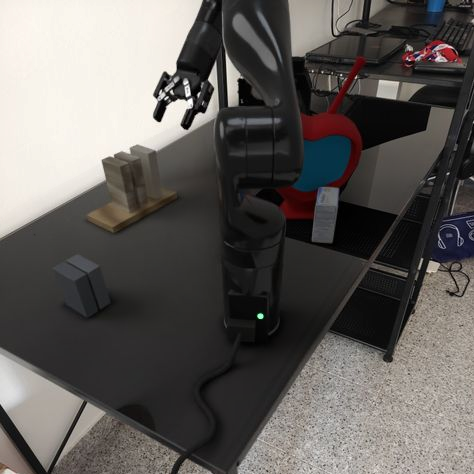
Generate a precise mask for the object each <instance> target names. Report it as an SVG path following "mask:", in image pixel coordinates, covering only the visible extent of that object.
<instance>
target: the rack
mask: <svg viewBox="0 0 474 474" xmlns="http://www.w3.org/2000/svg"><path fill="white" fill-rule="evenodd" d="M100 160H101V161H100V162H101V164H102V165H101V166H102V169H103V174H104V177H105V181H106V186H107V190H108V193H109V198H110V202H108V203H107V204H105V205H103V206H101V207H99V208H97V209H94V210H93V211H91V212H89V213H87V214H86V218H87V221H88V222H89V223H92V224H94V225H96V226H98V227H100V228H102V229H104V230H106V231H109V232H111V233H112V234H116V233H117V232H119V231H121V230H122V229H125V228H126V227H128V226H130V225H131V224H133V223H135V222H137V221H139V220H140V219H143V218H145V217H146V216H148V215H149V214H151V213H154V212H155V211H157V210H158V209H160V208H163V207H164V206H165V205H167V204H169V203H171V202H173V201H176V199H178V193H177V191H174V190H172V189H169V188H166V187H163V186H161V189H162V196H161V197H159V198H157V199H153V198H151V197H148V196H147V193H146V187H145V181H144V176H143V170H142V164H141V158H140V157H137V156H134V155H131V153H128V152H125V151H123V150H120V151H119V152H117V153H114V154H113V156H111V155H109V156H107V157H104V158H102V159H100Z"/></svg>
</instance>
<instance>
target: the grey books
mask: <svg viewBox="0 0 474 474" xmlns="http://www.w3.org/2000/svg"><path fill="white" fill-rule="evenodd" d="M51 269H52V272H53V274H54V276H55V279H56V282H57V284H58V287H59V289H60V292H61V294H62V297H63V299H64V302H65V305H66V306H68V307H69V308H70V309H72V310H74V311H75V312H77V313H79V314H81V315H82V316H84V317H85V318H86V319H88V318H90V317H92V316H93V315H95V314H97V313H98V312H99V311H100V310H103V308H105V307H107V306H109V305H110V304H111V303H112V302H111V300H110V296H109V293H108V288H107V285H106V282H105V280H104V279H105V278H104V276H103V272H102V269H101V266H100V265H99V264H97V263H95V262H94V261H91V260H90V259H88V258H86V257H84V256H83V255H80V254H79V253H77V254H75V255H73V256H71V257H70V258H68V259H66V260H65V261H62V262H59V264H57V265H55V266H53V267H52V268H51Z"/></svg>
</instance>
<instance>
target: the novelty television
mask: <svg viewBox="0 0 474 474" xmlns="http://www.w3.org/2000/svg"><path fill="white" fill-rule="evenodd" d="M366 63H367V59H366V58H364V57H363V56H361V55H357V57H356V59H355V61H354V64H353V66H352V68H351V70H350V72H349V74H348V76H347V77H346V79H345V81H344V83H343V84H342V86H341V88H340V90H339V92H338V93H337V95H336V97H335V99H334V100H333V102H332V103H331V105H330V106H329V107H328V110H327V111H325V112H321V113H318V115H315V116H307V115H305V114H303V113H300V114H301V120H302V127H303V135H304V165H303V170H302V173H301V176H300V178H299V180H298V181H297V183H296V184H294V185H293V186H291V187H286V188H279V189H275V191H276V192H277V193H278V194H279V195H280V196H281V197H282V198H283V201H282V203H280V205H279V208H280V209H281V210H282V211H283V212H284V214H285V218H286V220H314V213H315V206H316V201H317V195H318V189H319V187H333V188H339V189H340V188H341V187H342V186H343V185H344V184H346V182H348V180H349V179H350V178H351V176H352V175H353V174H354V172H355V170H356V169H357V166H358V165H359V163H360V159H361V157H362V153H363V152H362V151H363V140H362V136H361V133H360V132H359V130H358V127H357V126H356V124H355V123H354V122H353V121H352V120H351V119H350V118H349V117H347V116H346V115H344V114H341V113H340V112H338V109H339V107H340V105H341V103H342V102H343V100H344V98H345V96H346V95H347V93H348V91H349V90H350V89H351V86H352V84H353V83H354V81H355V79H356V78H357V76H358V75H359V73H360V71H361V70H362V68H363V67H364V66H365V65H366Z"/></svg>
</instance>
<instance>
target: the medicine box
mask: <svg viewBox="0 0 474 474" xmlns="http://www.w3.org/2000/svg"><path fill="white" fill-rule="evenodd" d="M339 199H340V188H333V187H319V189H318V195H317V201H316V206H315V213H314V219H313V225H312V233H311V234H312V235H311V242H312V243H318V244H319V243H320V244H333V242H334V237H335V230H336V224H337V223H336V222H337V218H338V217H337V216H338V209H339Z"/></svg>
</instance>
